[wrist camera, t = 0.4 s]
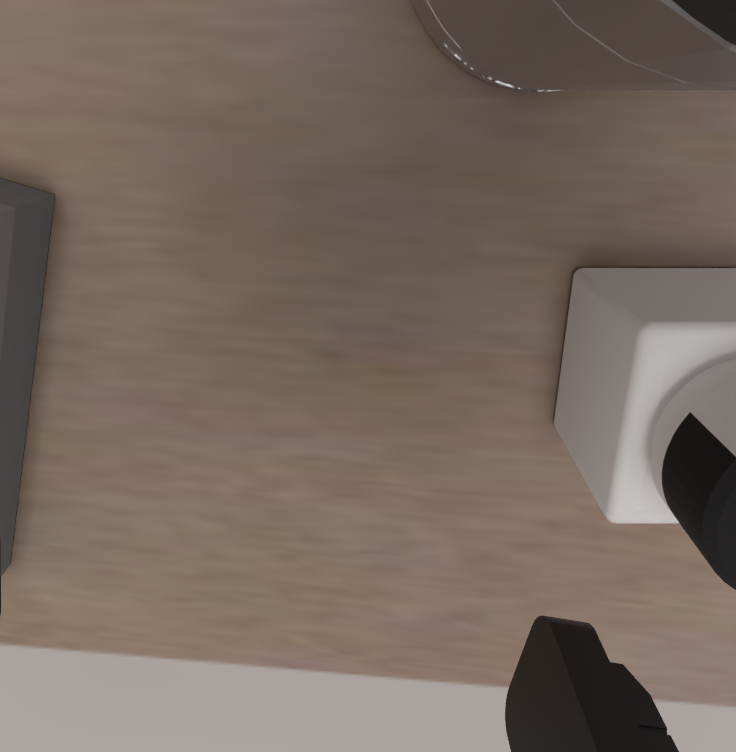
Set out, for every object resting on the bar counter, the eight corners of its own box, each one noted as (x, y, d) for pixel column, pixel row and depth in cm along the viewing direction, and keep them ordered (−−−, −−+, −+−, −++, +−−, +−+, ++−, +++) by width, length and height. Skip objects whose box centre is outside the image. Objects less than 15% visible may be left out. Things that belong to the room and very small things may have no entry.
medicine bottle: (714, 426, 28) (935, 639, 17) (550, 427, 28) (669, 640, 17) (753, 265, 26) (1048, 398, 15) (571, 265, 25) (729, 398, 14)
